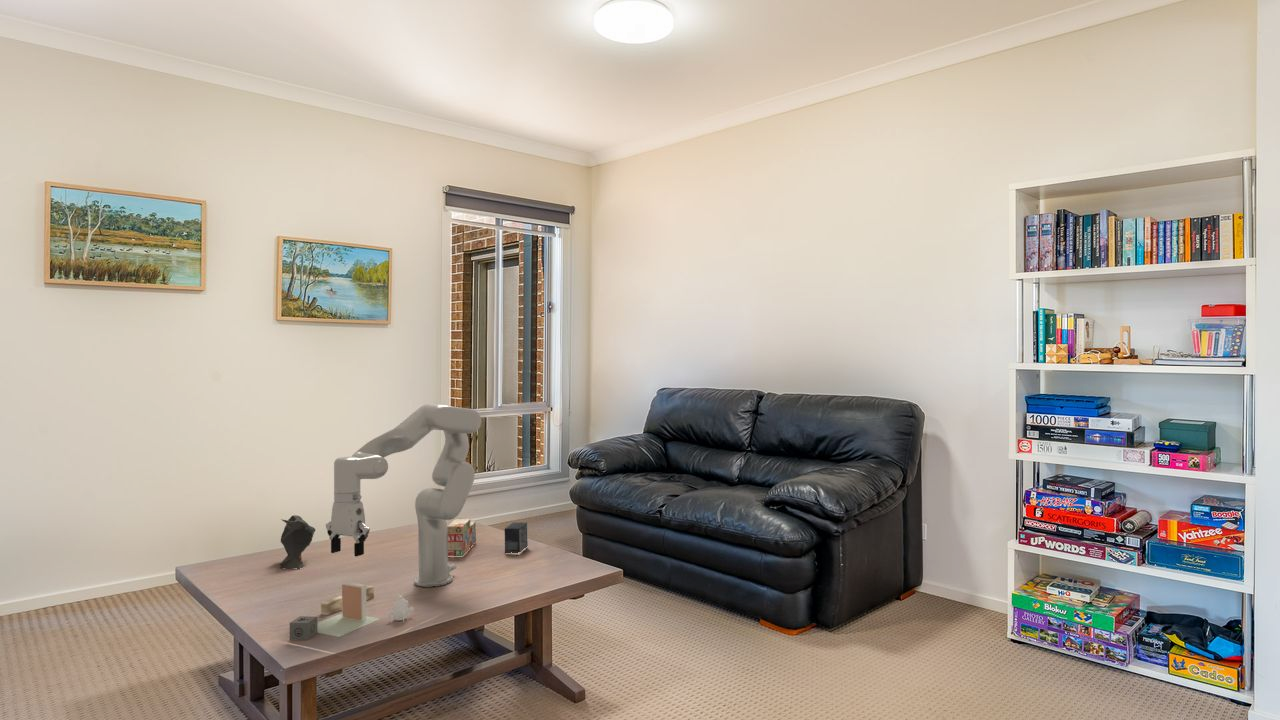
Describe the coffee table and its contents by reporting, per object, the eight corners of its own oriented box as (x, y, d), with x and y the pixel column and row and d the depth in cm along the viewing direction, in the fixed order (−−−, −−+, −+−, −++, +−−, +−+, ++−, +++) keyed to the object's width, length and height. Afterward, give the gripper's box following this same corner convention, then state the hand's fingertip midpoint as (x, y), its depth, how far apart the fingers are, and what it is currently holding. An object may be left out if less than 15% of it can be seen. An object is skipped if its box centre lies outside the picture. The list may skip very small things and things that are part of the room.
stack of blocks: (461, 544, 297) (460, 514, 298) (476, 543, 297) (475, 513, 297) (446, 558, 276) (446, 525, 276) (463, 557, 276) (462, 525, 276)
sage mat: (344, 613, 215) (344, 612, 215) (380, 620, 209) (380, 618, 209) (302, 630, 201) (302, 629, 201) (338, 638, 195) (338, 636, 195)
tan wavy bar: (368, 598, 230) (368, 585, 230) (373, 599, 229) (373, 586, 229) (321, 616, 214) (320, 602, 214) (326, 617, 213) (326, 603, 213)
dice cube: (300, 634, 199) (300, 616, 199) (317, 634, 198) (317, 616, 199) (289, 641, 194) (289, 622, 194) (307, 641, 194) (307, 623, 194)
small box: (512, 548, 290) (512, 521, 290) (528, 548, 289) (527, 522, 289) (503, 555, 279) (503, 527, 279) (520, 555, 278) (519, 528, 278)
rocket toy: (413, 618, 211) (413, 591, 211) (404, 625, 205) (404, 597, 205) (396, 617, 211) (396, 590, 211) (386, 624, 206) (386, 596, 206)
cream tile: (346, 615, 212) (345, 581, 212) (366, 619, 208) (366, 585, 208) (341, 617, 210) (341, 583, 210) (361, 621, 207) (361, 586, 207)
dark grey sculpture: (326, 558, 277) (325, 511, 277) (300, 569, 262) (300, 519, 262) (292, 556, 280) (292, 510, 280) (265, 567, 265) (265, 518, 265)
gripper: (377, 497, 221) (377, 553, 221) (336, 493, 228) (336, 548, 228) (358, 501, 214) (358, 559, 214) (317, 497, 222) (317, 553, 221)
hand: (347, 553), depth 221 cm, fingers open, 9 cm apart
